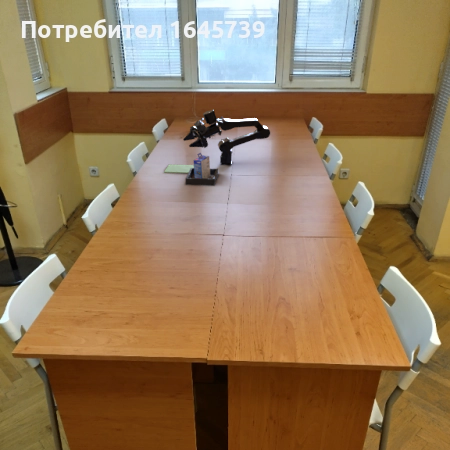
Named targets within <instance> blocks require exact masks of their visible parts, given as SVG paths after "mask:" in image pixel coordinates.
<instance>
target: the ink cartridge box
mask: <svg viewBox="0 0 450 450" xmlns="http://www.w3.org/2000/svg"><path fill="white" fill-rule="evenodd" d="M192 162H193V165H194V174H193V175H194V178H208V179H211V175H210V169H211V164H210V156H209V155H203V154H202V153H201V152H199V153H197V158H195V159H193V161H192Z"/></svg>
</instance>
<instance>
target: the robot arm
mask: <svg viewBox="0 0 450 450" xmlns="http://www.w3.org/2000/svg"><path fill="white" fill-rule="evenodd" d="M202 116H203V119H204V121H205V123H206V124H207V125H208V126H206V124H205V125H204V124H202V123H200V122H199V120H196V121H195V123H193V125H191V126H190V127H189V132H188V133H187V134H186V135H185V136H184V138H183V139H182V141H183V142H185V141H192V140H195V139H196V140H195V141H193V142H191V143H190V144H189V145H188V147H189V148H204V149H207V148H208V147H209V143H208V140H207V139H212V137H213V136H214V135H216V134H217V135H218V136H222V132H227V131H230V130H233V129H236V128H250V127H254V128H255V129H254V131H252V132H249V133H246V134H243V135H241V136H237V137H235V138H231V139H229V137H225V138H221V140H219V141H218V143H217V147H218V149H219V151H220V152H221V153H220V156H219V157H220V158H219V159H220V160H219V161H220V166H232V165H233V164H232V163H233V151H232V149H233V148H235V147H237V146H241V145H243V144H246V143H249V142H251V141H254V140H265V139H268V138H269V137H270V136H271V130H270V129H269V128H268V127H267V126H266V125H263V124H261V123H260V121H259V120H258V119H257V118H255V117H254V118H253V117H252V118H243V119H231V118H224V117H223V119H220V118H218V117H217V115H216V112H215V110H214V109H211V110H206V111H205V112H203V113H202ZM216 122H217V124H218V125H219V126H220V127H219V126H217V124H216ZM213 123H214V124H213ZM211 124H212V125H211ZM195 126H196V127H197V128H198V129H197V128H196V127H195Z"/></svg>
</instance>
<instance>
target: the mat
mask: <svg viewBox="0 0 450 450" xmlns="http://www.w3.org/2000/svg"><path fill="white" fill-rule="evenodd" d="M190 168H194V164H168V165H167V167H166V169H165V170H164V172H163V173H164V174H188V172H189V170H190Z"/></svg>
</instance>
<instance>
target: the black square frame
mask: <svg viewBox="0 0 450 450" xmlns="http://www.w3.org/2000/svg"><path fill="white" fill-rule="evenodd" d="M193 175H195V174H194V168H190V170H189V172H188V173H187V175H186V177H185V185H186V186H187V185H189V186H190V185H191V186H215V185H216V183H217V179H218V176H219V168H210V176H213V177H212V178H195V177H192V176H193Z"/></svg>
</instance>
